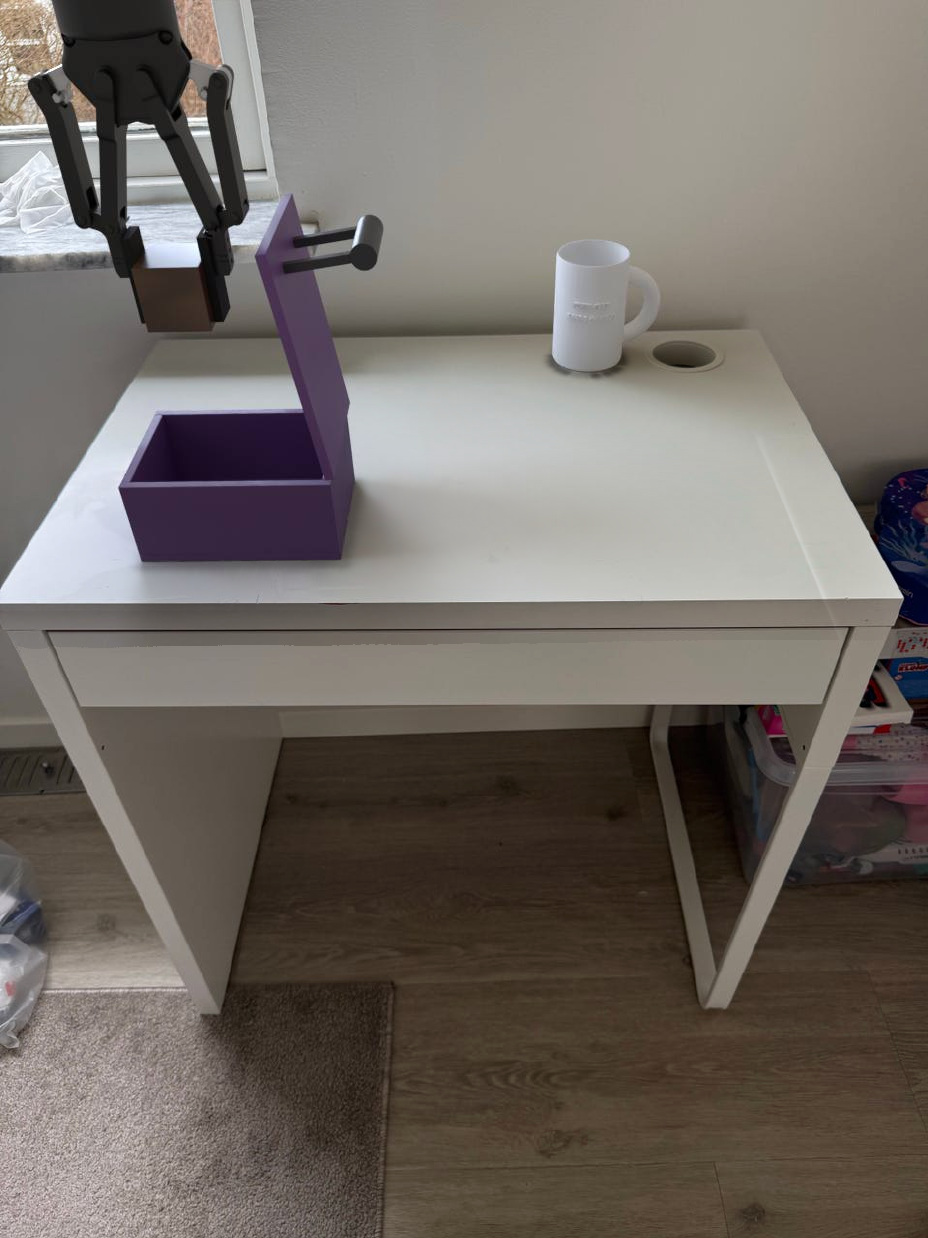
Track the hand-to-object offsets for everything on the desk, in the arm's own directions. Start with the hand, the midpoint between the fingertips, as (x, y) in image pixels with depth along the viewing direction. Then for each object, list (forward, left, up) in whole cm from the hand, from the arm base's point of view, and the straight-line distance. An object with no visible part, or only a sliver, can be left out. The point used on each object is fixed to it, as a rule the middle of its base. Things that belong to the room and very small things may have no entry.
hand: (186, 314), depth 74 cm
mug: (+20, +45, -20) cm, 53 cm away
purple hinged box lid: (+8, +4, -2) cm, 9 cm away
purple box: (+2, +1, -20) cm, 20 cm away
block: (0, 0, 0) cm, 0 cm away
